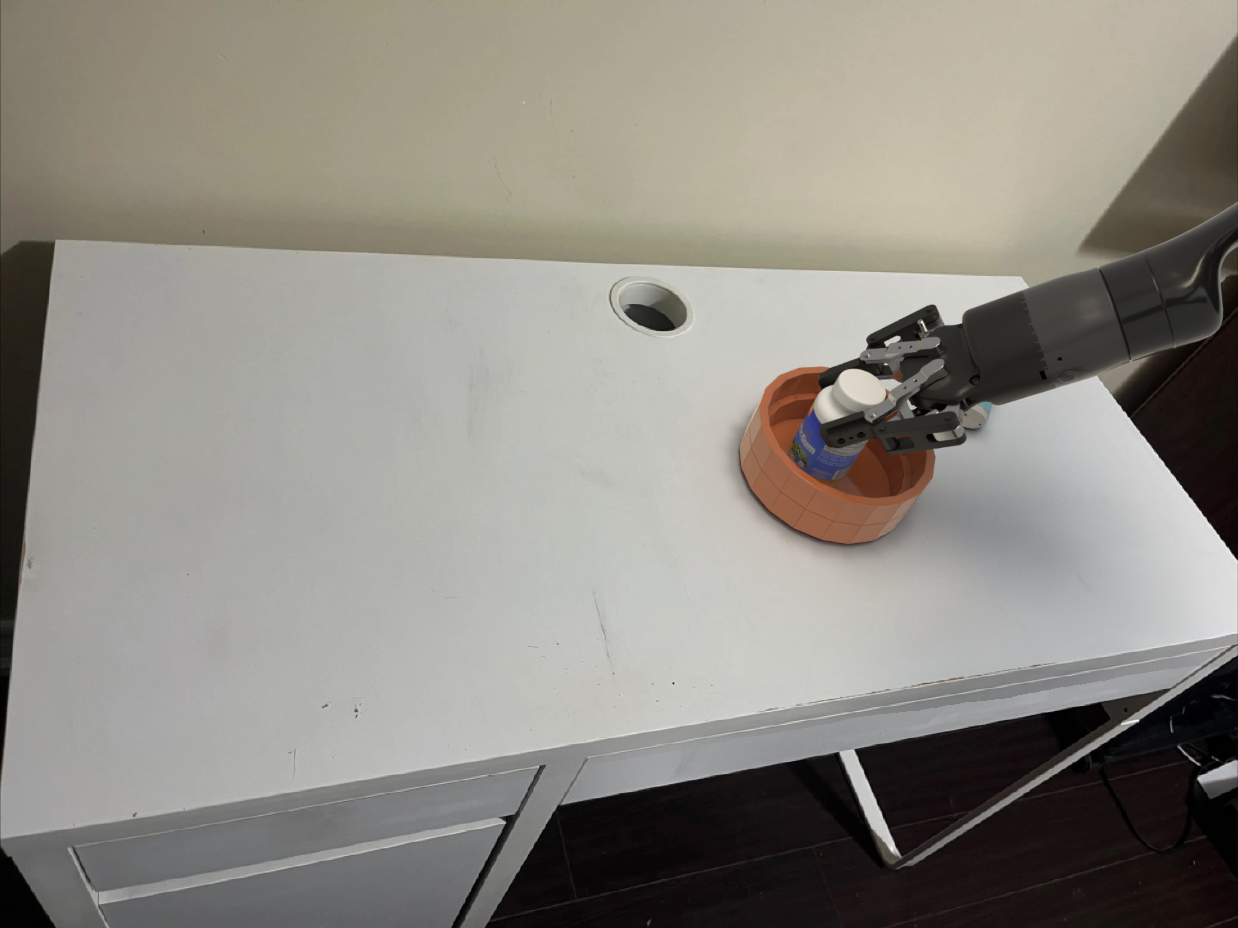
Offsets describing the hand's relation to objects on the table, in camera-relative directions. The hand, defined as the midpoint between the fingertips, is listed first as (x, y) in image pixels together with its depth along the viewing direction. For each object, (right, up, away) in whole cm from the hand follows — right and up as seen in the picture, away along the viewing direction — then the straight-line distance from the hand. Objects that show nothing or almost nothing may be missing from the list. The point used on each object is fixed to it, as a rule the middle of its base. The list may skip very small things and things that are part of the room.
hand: (823, 410), depth 70 cm
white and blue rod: (+22, +5, +22) cm, 31 cm away
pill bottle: (0, -4, +5) cm, 7 cm away
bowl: (+2, -5, +8) cm, 9 cm away
